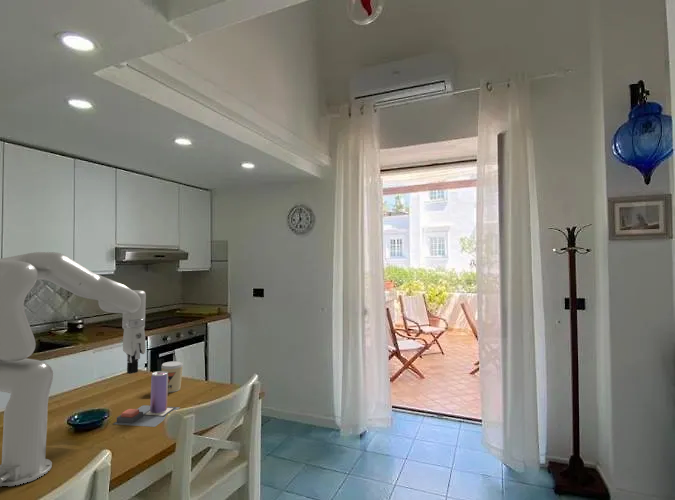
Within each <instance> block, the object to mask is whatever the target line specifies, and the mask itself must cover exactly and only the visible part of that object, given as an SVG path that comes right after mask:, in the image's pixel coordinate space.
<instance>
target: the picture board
mask: <svg viewBox="0 0 675 500" xmlns="http://www.w3.org/2000/svg"><path fill="white" fill-rule="evenodd" d="M137 409H139V414H137V415H136V416H134V417H133V418H129V417H121V414H120V415H118V416H117V417H116V421H115V422H113V425H120V426H122V425H123V426H135V427H137V426H138V427H151V428H152V427H153V428H156V427H157V426H158V425H159V424H161V423H162V422H164V421H165V420H166V419H165V417H166V415H167V414H168V413H170V412H171V411H173V410H177V409H178V410H179V409H181V407H180V406H178V407H177V406H167V410H166V411H165V412H164V413H161V414H152V413H151V412H150V405H141V406H140V407H138V408H137ZM178 410H177V411H178ZM164 419H165V420H164Z"/></svg>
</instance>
